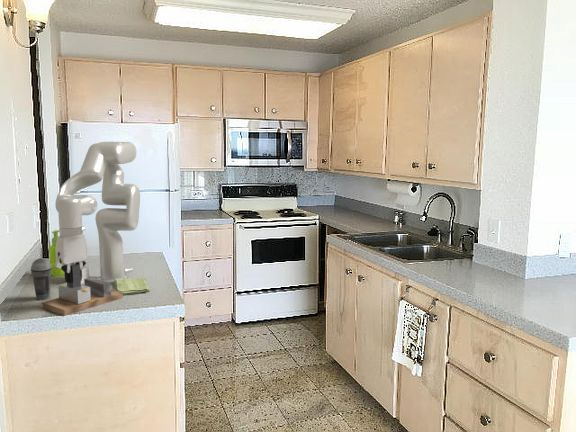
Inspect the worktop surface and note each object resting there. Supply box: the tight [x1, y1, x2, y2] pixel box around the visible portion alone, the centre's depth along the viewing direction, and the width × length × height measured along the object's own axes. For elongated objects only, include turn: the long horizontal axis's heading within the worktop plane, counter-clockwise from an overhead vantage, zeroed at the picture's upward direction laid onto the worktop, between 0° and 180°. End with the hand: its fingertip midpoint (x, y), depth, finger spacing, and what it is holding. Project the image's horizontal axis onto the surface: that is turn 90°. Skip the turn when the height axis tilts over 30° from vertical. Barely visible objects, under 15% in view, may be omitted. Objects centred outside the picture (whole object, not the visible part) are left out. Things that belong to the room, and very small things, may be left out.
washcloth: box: [113, 277, 151, 296], centre depth 197 cm, size 13×18×3 cm
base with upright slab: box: [81, 263, 90, 285], centre depth 205 cm, size 9×9×12 cm
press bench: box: [41, 277, 124, 316], centre depth 178 cm, size 24×14×7 cm, turn 146°
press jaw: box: [57, 263, 91, 304], centre depth 174 cm, size 5×13×13 cm, turn 56°
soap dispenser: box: [48, 229, 65, 277], centre depth 216 cm, size 6×7×20 cm
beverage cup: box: [30, 247, 52, 301], centre depth 182 cm, size 7×7×20 cm
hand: (73, 280), depth 175 cm, fingers closed on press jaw, 3 cm apart
